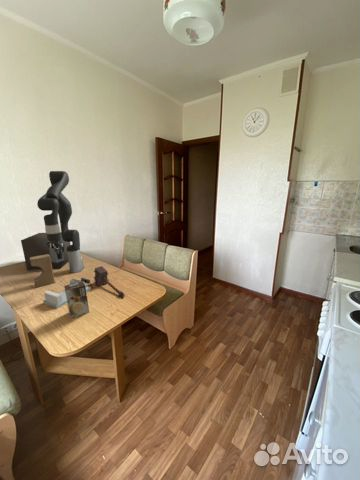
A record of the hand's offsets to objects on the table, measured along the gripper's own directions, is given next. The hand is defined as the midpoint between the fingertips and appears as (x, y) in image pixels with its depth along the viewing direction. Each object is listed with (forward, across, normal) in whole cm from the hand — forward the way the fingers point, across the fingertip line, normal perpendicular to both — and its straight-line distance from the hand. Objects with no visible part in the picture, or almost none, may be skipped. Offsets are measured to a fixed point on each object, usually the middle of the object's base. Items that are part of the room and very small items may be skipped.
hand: (57, 258), depth 126 cm
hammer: (+22, -28, -14) cm, 38 cm away
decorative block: (+22, +18, 0) cm, 28 cm away
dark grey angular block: (+22, +50, -26) cm, 60 cm away
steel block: (+2, 0, 0) cm, 2 cm away
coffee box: (+22, -31, +13) cm, 40 cm away
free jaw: (+20, -11, -6) cm, 23 cm away
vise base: (+22, -11, +4) cm, 25 cm away
